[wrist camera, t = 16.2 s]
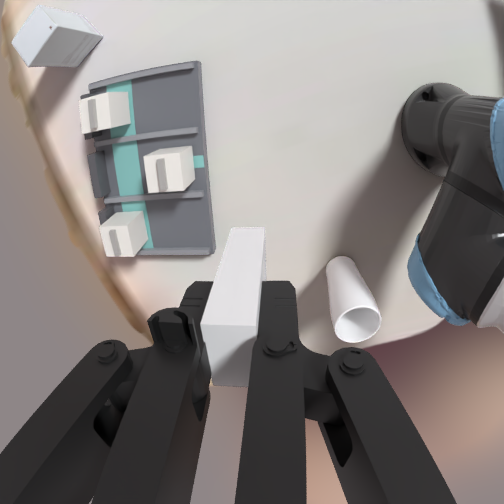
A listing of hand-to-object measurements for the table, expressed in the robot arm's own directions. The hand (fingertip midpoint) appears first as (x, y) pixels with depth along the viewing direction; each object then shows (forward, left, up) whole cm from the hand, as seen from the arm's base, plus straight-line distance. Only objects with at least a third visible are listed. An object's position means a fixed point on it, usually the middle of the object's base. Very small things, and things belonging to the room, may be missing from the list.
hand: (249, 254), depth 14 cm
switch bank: (+18, +1, -32) cm, 37 cm away
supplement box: (+30, -23, -33) cm, 50 cm away
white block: (+22, -8, -30) cm, 38 cm away
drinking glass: (-12, +20, -33) cm, 40 cm away
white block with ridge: (+13, +1, -30) cm, 33 cm away
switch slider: (+22, +10, -30) cm, 39 cm away
